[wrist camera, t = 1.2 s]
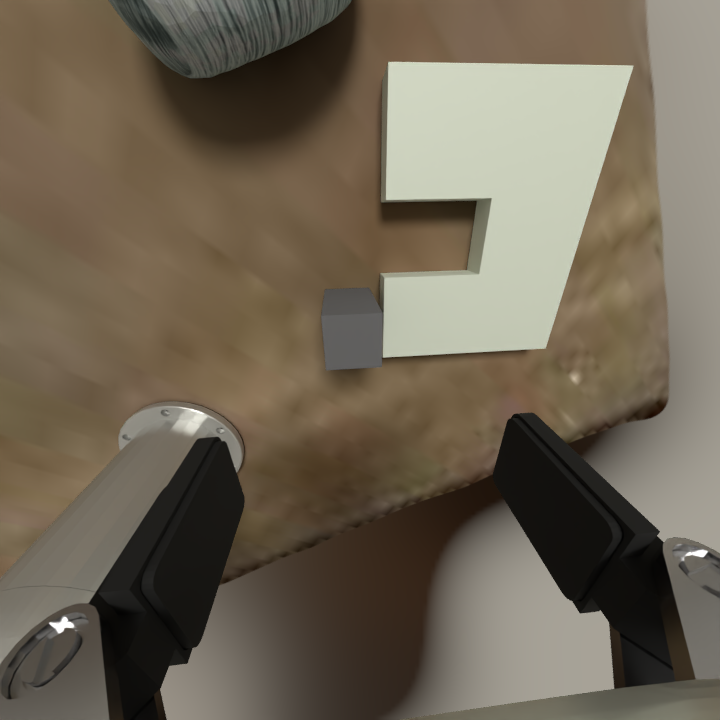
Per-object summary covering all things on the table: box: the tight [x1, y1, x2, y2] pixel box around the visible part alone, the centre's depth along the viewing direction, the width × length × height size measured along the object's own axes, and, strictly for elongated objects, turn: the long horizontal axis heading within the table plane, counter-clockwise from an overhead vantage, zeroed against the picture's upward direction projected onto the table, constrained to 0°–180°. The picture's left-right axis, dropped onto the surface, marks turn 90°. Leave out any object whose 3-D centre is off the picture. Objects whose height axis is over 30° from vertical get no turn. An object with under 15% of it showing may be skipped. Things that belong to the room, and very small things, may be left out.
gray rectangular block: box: [321, 288, 383, 370], centre depth 22 cm, size 4×4×8 cm
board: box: [380, 62, 633, 358], centre depth 23 cm, size 20×16×2 cm
